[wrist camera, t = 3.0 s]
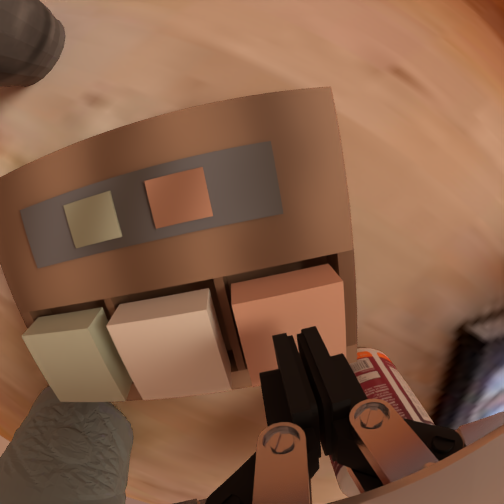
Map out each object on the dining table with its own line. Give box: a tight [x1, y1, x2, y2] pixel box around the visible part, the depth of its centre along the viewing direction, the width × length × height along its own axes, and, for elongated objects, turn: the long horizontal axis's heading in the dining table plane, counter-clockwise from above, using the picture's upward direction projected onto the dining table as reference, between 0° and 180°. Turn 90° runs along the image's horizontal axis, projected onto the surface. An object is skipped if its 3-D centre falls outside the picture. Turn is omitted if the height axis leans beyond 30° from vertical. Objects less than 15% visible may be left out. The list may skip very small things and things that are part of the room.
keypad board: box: [0, 87, 357, 401], centre depth 14 cm, size 18×14×3 cm
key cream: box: [106, 288, 232, 400], centre depth 14 cm, size 4×4×2 cm
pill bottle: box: [329, 348, 435, 497], centre depth 14 cm, size 6×6×11 cm
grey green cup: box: [0, 386, 133, 504], centre depth 14 cm, size 10×10×12 cm
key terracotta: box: [231, 264, 346, 387], centre depth 14 cm, size 4×4×2 cm
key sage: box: [22, 307, 133, 402], centre depth 13 cm, size 4×4×2 cm
